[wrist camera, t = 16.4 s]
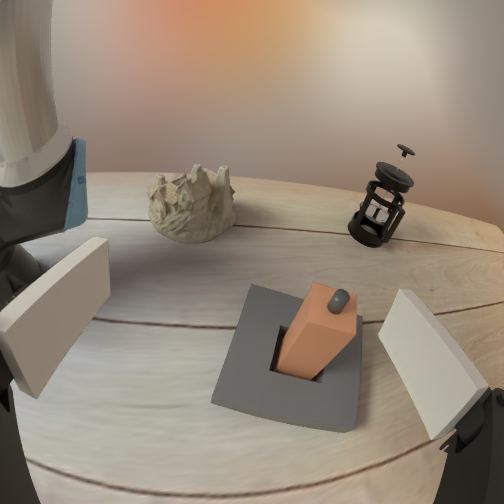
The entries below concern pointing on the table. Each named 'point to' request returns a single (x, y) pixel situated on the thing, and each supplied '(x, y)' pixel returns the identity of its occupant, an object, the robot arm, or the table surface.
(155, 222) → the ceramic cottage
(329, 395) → the socket
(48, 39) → the robot arm
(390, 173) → the french press
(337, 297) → the plug
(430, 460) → the table surface
